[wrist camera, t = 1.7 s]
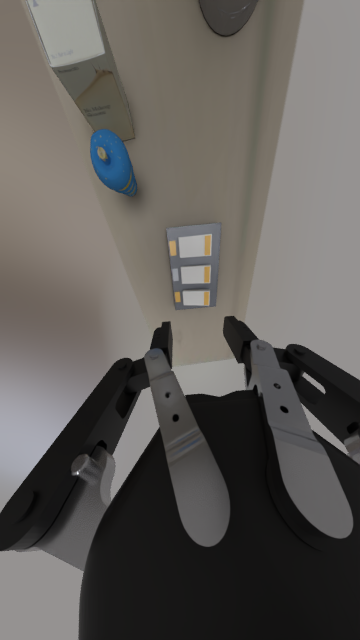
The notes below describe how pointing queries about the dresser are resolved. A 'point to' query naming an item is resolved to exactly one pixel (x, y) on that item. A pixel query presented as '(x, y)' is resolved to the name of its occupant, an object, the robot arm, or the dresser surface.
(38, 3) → the skincare box
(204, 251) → the rocker inner
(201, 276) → the rocker middle
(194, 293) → the rocker outer
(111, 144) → the ornament
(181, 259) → the switch unit
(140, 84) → the dresser surface
